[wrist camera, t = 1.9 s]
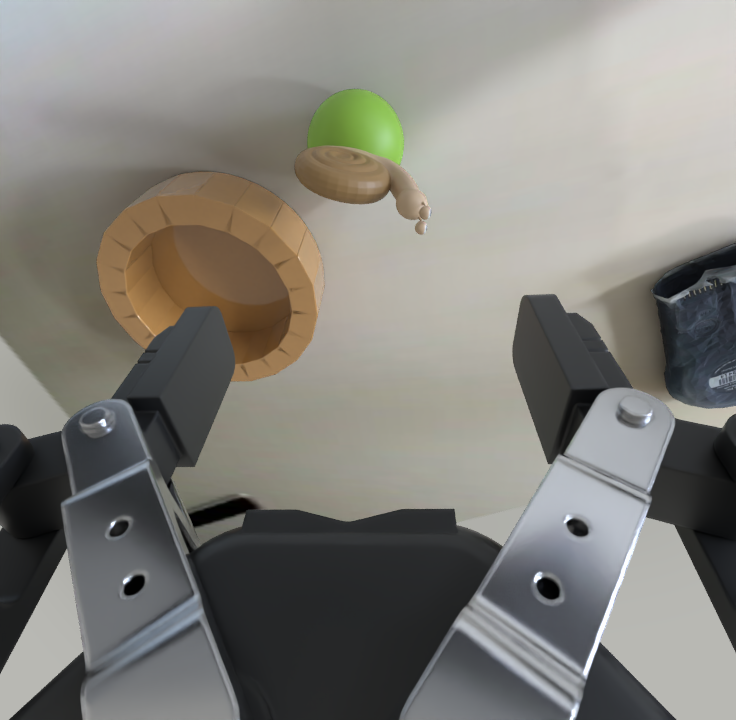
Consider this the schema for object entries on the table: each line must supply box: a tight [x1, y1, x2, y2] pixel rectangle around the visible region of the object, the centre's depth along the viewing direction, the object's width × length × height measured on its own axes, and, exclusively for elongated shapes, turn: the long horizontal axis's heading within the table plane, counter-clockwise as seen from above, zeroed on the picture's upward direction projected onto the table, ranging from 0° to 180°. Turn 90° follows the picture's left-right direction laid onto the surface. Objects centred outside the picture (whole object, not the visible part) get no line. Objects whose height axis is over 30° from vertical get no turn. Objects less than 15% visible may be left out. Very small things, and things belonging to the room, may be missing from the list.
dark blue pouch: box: [651, 243, 736, 409], centre depth 33 cm, size 9×6×15 cm
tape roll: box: [96, 171, 325, 381], centre depth 32 cm, size 15×15×4 cm
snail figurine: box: [294, 89, 431, 234], centre depth 22 cm, size 5×6×12 cm
